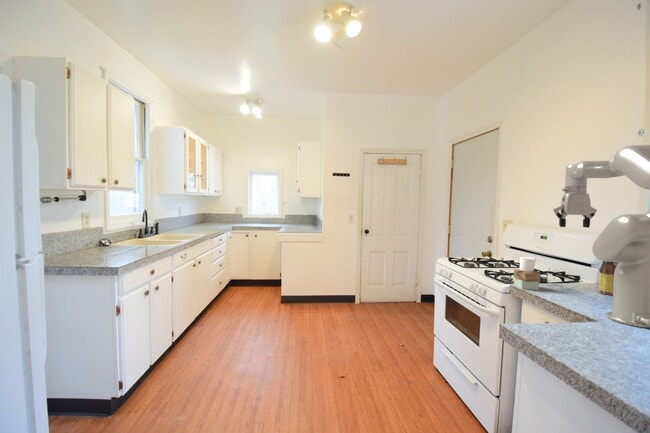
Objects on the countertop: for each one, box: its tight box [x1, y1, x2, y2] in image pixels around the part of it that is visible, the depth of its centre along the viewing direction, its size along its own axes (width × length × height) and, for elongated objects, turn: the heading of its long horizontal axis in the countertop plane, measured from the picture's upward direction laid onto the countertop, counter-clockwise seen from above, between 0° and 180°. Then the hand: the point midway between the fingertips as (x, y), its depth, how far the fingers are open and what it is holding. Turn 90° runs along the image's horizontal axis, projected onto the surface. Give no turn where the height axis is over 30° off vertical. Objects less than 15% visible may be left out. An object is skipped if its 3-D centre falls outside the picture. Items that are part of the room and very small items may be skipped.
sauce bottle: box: [598, 261, 617, 297], centre depth 136 cm, size 7×6×20 cm
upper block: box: [513, 269, 541, 283], centre depth 146 cm, size 8×8×4 cm
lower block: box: [513, 277, 540, 291], centre depth 147 cm, size 8×8×4 cm
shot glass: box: [519, 255, 537, 272], centre depth 146 cm, size 7×7×7 cm
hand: (574, 227), depth 130 cm, fingers open, 9 cm apart
